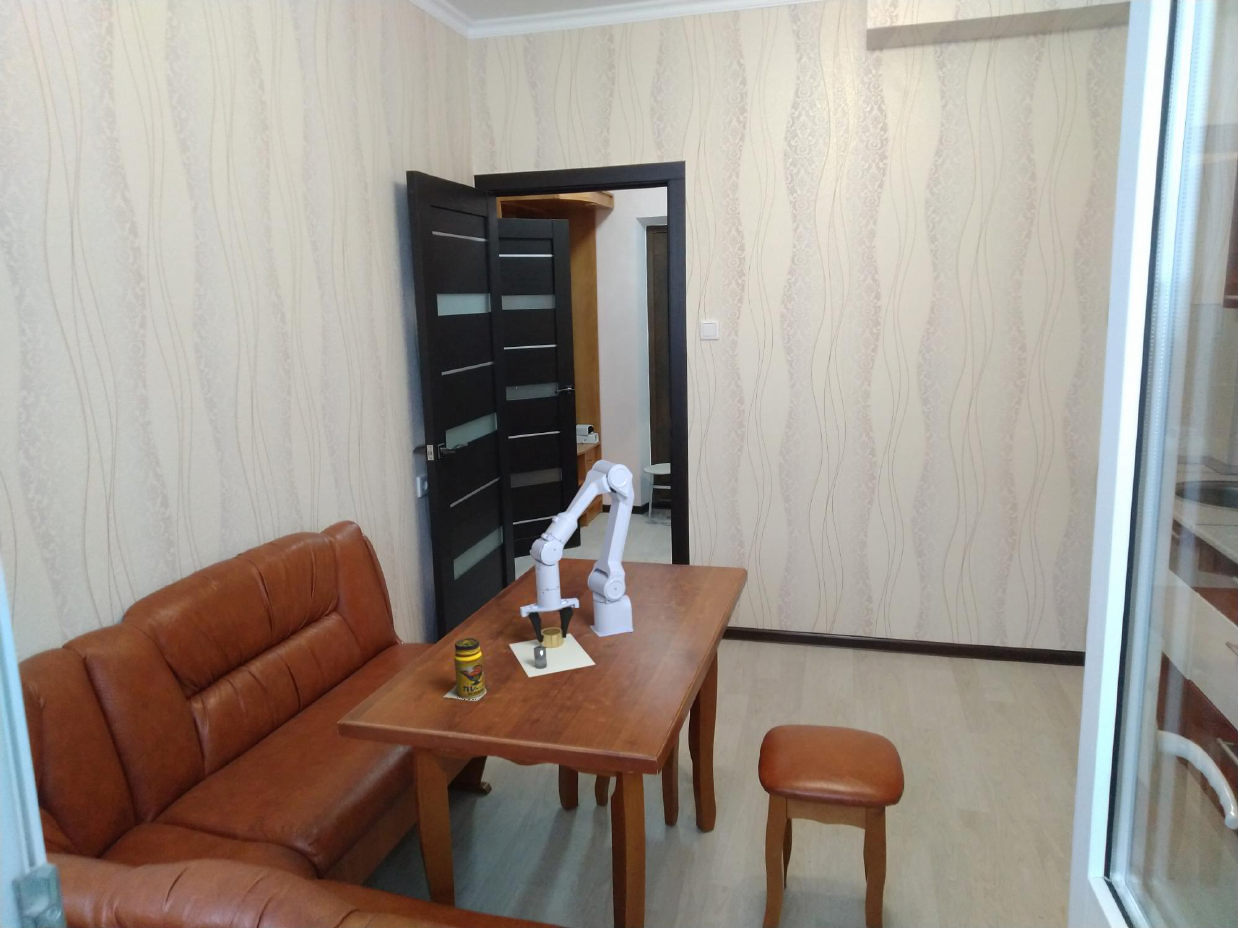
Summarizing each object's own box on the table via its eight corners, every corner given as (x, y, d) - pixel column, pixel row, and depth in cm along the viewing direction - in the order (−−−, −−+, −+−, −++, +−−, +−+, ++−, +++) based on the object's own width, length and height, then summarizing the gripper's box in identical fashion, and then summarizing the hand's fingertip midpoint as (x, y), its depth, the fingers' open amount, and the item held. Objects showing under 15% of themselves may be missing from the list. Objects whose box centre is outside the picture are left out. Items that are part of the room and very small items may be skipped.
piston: (545, 662, 200) (543, 644, 200) (548, 667, 198) (547, 649, 197) (533, 665, 200) (532, 647, 199) (536, 669, 197) (535, 651, 196)
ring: (559, 637, 215) (559, 625, 215) (566, 644, 210) (565, 633, 210) (538, 640, 213) (537, 629, 213) (544, 648, 208) (543, 637, 208)
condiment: (477, 701, 184) (473, 649, 181) (442, 697, 186) (438, 646, 184) (492, 686, 190) (488, 636, 188) (458, 683, 193) (454, 633, 191)
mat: (570, 635, 218) (570, 633, 218) (595, 666, 199) (595, 664, 198) (508, 646, 213) (508, 644, 213) (529, 679, 193) (528, 676, 193)
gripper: (571, 577, 215) (575, 628, 218) (515, 586, 210) (519, 638, 213) (580, 585, 209) (583, 637, 211) (522, 595, 204) (526, 648, 206)
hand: (551, 638), depth 212 cm, fingers closed on ring, 6 cm apart
